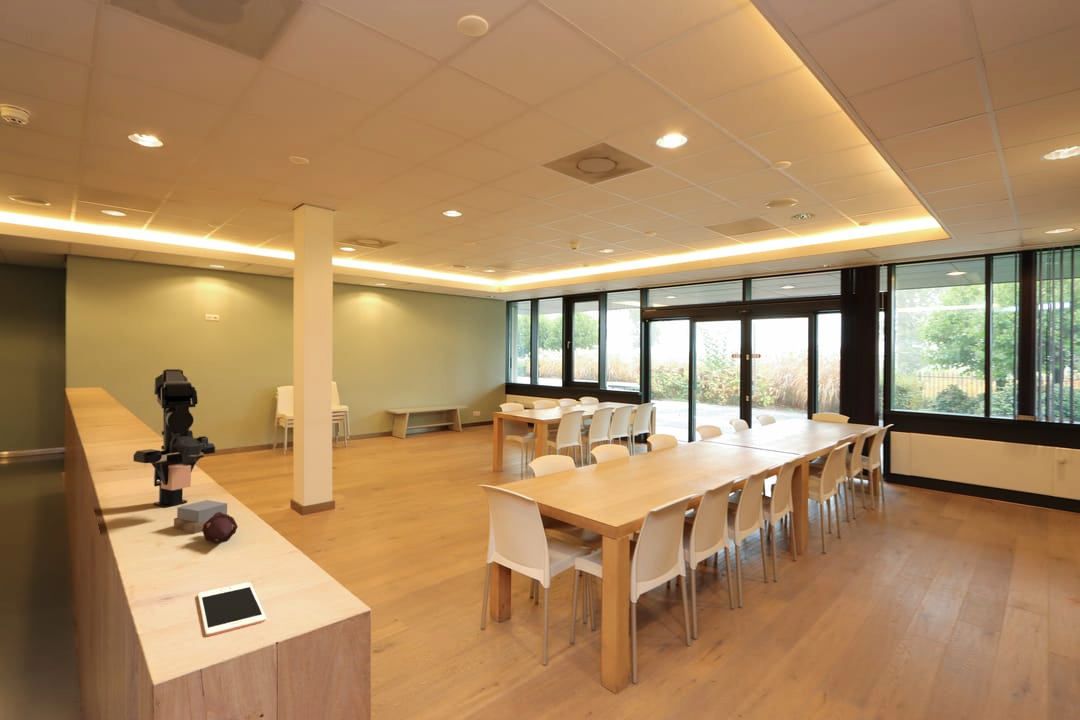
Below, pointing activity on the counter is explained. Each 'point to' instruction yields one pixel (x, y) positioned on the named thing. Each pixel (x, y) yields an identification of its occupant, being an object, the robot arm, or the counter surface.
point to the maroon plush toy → (219, 528)
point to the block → (178, 477)
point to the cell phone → (230, 608)
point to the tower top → (201, 510)
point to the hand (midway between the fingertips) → (175, 482)
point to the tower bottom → (189, 525)
